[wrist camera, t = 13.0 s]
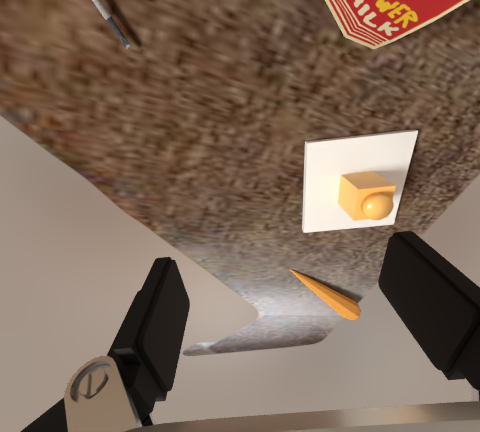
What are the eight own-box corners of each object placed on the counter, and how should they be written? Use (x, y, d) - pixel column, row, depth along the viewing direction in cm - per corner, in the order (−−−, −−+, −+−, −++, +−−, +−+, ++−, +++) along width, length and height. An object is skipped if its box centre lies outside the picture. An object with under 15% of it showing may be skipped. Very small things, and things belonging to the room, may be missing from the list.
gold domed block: (340, 174, 36) (363, 193, 29) (372, 171, 36) (403, 189, 29) (337, 202, 38) (358, 226, 32) (367, 199, 38) (394, 222, 32)
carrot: (354, 300, 54) (368, 310, 49) (343, 315, 54) (355, 327, 49) (290, 256, 49) (299, 263, 45) (278, 272, 49) (286, 281, 45)
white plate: (305, 141, 35) (316, 150, 30) (412, 129, 34) (442, 136, 29) (302, 229, 42) (310, 247, 37) (389, 220, 42) (410, 238, 37)
